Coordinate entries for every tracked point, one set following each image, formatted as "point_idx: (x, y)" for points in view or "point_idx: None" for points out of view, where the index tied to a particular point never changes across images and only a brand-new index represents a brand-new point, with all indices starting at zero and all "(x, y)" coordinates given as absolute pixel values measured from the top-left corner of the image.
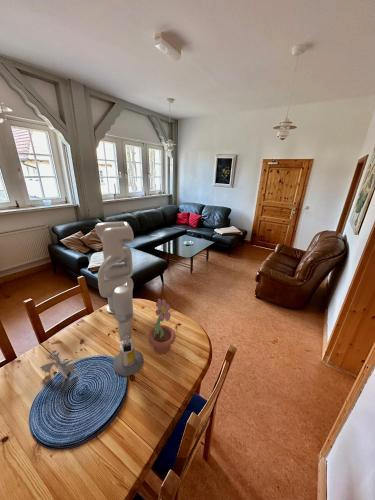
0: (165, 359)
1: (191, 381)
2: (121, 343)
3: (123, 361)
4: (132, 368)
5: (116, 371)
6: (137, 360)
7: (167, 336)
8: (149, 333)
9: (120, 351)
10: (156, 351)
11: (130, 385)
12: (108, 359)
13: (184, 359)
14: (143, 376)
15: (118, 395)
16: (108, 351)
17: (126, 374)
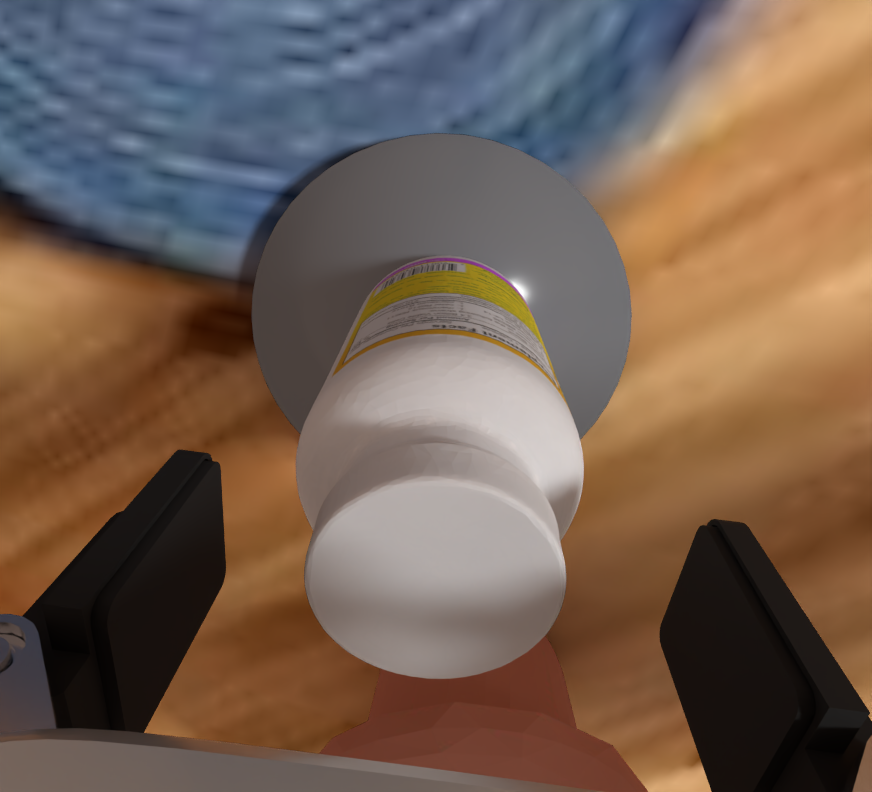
0: (328, 643)
1: None
2: (412, 468)
3: (372, 301)
4: (318, 361)
5: (345, 167)
6: None
7: None
8: (565, 783)
9: (395, 338)
10: None
11: (134, 291)
12: (615, 82)
13: None
14: (206, 434)
15: (38, 138)
16: (764, 101)
17: (260, 281)
